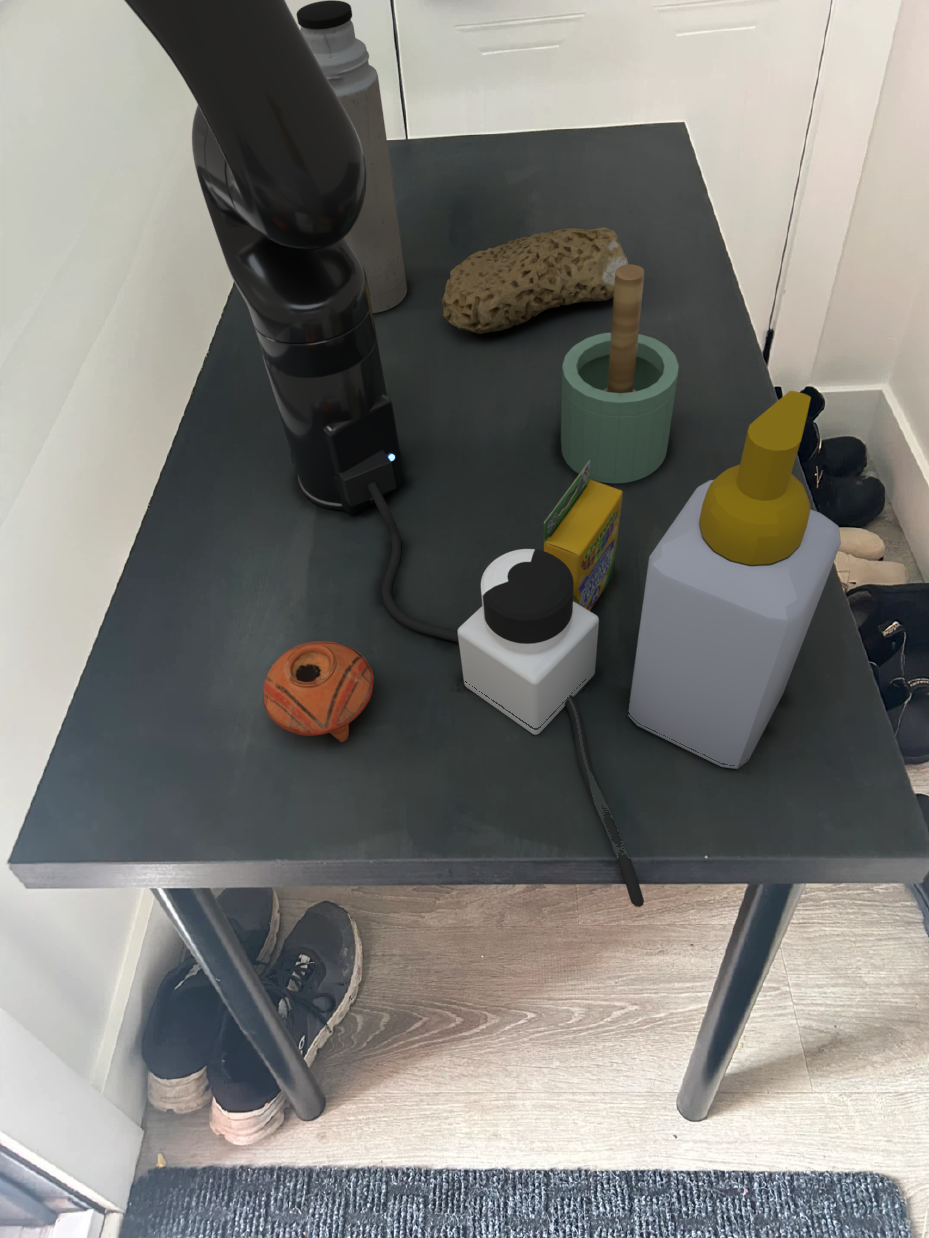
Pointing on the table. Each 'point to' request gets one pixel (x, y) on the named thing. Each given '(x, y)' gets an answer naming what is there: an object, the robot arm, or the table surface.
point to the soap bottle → (732, 597)
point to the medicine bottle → (528, 638)
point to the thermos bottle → (362, 102)
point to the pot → (318, 689)
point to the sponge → (532, 278)
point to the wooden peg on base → (625, 328)
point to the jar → (617, 411)
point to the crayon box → (586, 535)
